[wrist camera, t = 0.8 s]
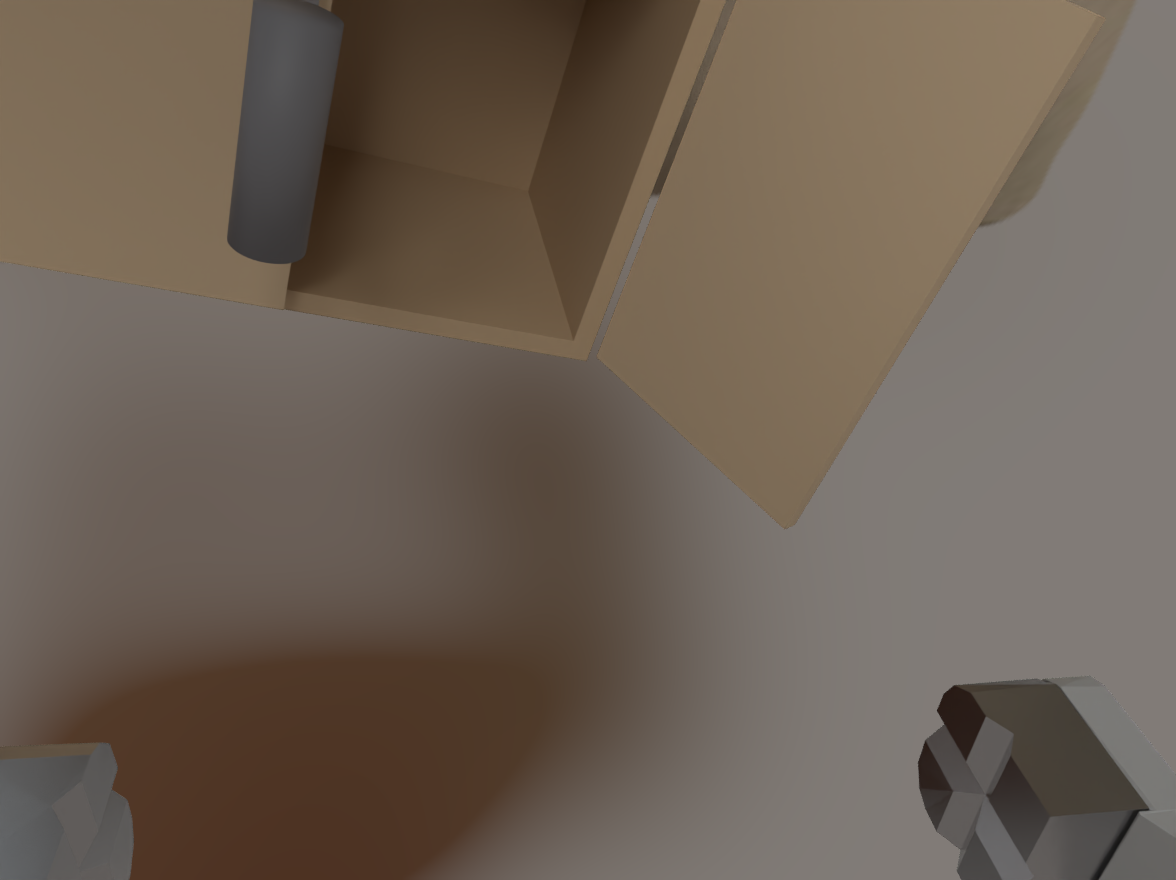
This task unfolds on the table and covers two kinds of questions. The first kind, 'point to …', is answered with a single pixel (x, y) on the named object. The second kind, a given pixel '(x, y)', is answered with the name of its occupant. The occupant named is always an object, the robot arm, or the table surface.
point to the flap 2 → (825, 216)
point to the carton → (494, 162)
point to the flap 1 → (165, 139)
